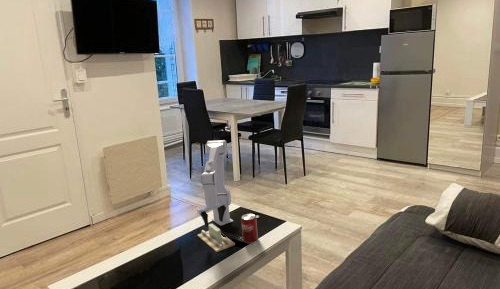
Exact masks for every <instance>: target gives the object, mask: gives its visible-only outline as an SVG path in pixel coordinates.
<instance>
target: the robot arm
mask: <svg viewBox="0 0 500 289" xmlns="http://www.w3.org/2000/svg"><path fill="white" fill-rule="evenodd" d="M205 147H206V152H207V153H208V154H209V155H208V160H207V161H206V162H205V165H204V170H203V173H201V175H200V182H201V186H202V189H203V193H204V201H205V205H203V206H201V207H200V208H197V209H196V211H197V215H200V217H201V218H202V220H203V223H204V225H205V227H207V228H209V227H208V225H209V220H208V219H209V213H207V212H209V211H211V210H212V213H213V214H212V215H213V218H212V221H213V222H214V223H216V224H217V225H219V226H224V225H227V224H230V223H233V222H234V220H233V219H232V218H231V214H230V205H231V203H232V196H231V191H230V190H229V188H226V186H225V184H226V183H225V182H226V181H225V163H224V160H225V156H227V155H228V143H227V140H225V139H223V140H207V142H206V146H205Z"/></svg>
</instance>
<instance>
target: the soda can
mask: <svg viewBox="0 0 500 289" xmlns="http://www.w3.org/2000/svg"><path fill="white" fill-rule="evenodd" d="M257 221H258V220H257V215H255V214H253V213H246V214H242V216H241V217H240V225H241V234H242V236H241V237H242V241H243V242H244V243H247V244H253V243H256V242H257V241H258V240H259V235H258V222H257Z"/></svg>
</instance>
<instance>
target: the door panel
mask: <svg viewBox="0 0 500 289" xmlns="http://www.w3.org/2000/svg"><path fill="white" fill-rule="evenodd" d="M207 228H208V231H209V235H210V236H211V237H213V238H214V239H215V240H216V241H218V242H222V238H221V233H222V230H221V229H220V228H219V227H218V226H216V225H215V224H214V223H208V227H207Z"/></svg>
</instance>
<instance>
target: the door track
mask: <svg viewBox="0 0 500 289" xmlns="http://www.w3.org/2000/svg"><path fill="white" fill-rule="evenodd" d="M197 237H198V238H199V240H202V241H203V242H204V243H205V244H206V245H208V247H210V249H212V250H213V251H214V252H215V253H218V252H221V251H223V250H226V249H228V248H230V247H233V246H235V245H236V243H235V242H234V241H232V239H230V238H228V237H227V236H226V237H223V236H222V235H221V238H222V242H218V241H216V240H215V239H214V238H213V237H211V236H210V235H209V230H207V231H205V230H204V229H202V230H201V232H200V233H198V234H197Z"/></svg>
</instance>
